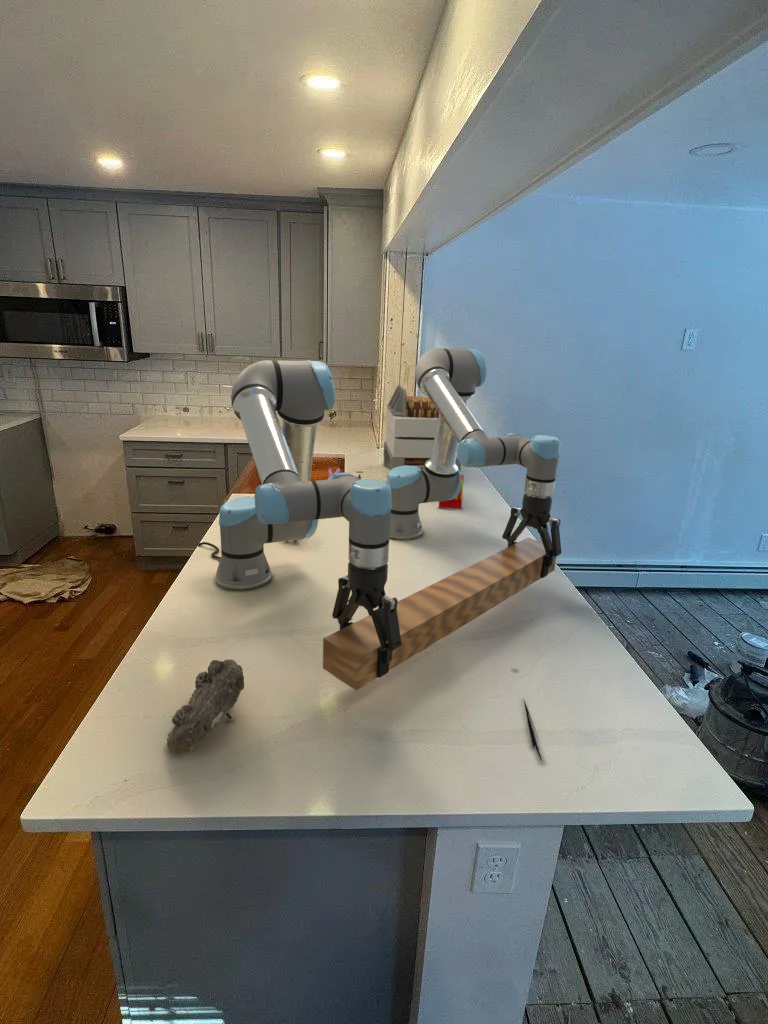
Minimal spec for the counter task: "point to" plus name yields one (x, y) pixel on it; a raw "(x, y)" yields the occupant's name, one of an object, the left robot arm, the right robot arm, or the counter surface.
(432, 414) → the grey wooden crate
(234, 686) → the fossil
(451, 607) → the wooden beam
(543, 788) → the counter surface
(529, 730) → the feather
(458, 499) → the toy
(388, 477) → the right robot arm
